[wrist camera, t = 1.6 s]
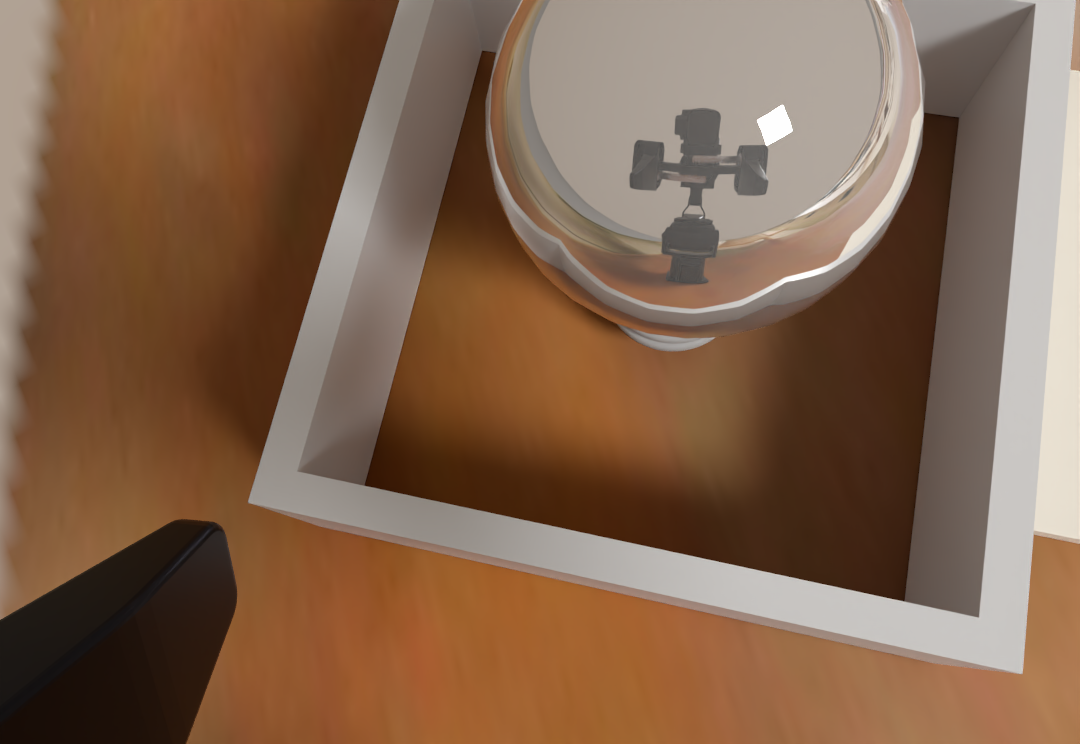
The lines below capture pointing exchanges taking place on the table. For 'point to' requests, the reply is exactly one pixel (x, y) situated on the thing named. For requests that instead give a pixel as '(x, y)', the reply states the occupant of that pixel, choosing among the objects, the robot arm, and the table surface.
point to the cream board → (1063, 356)
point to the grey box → (955, 378)
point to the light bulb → (703, 152)
